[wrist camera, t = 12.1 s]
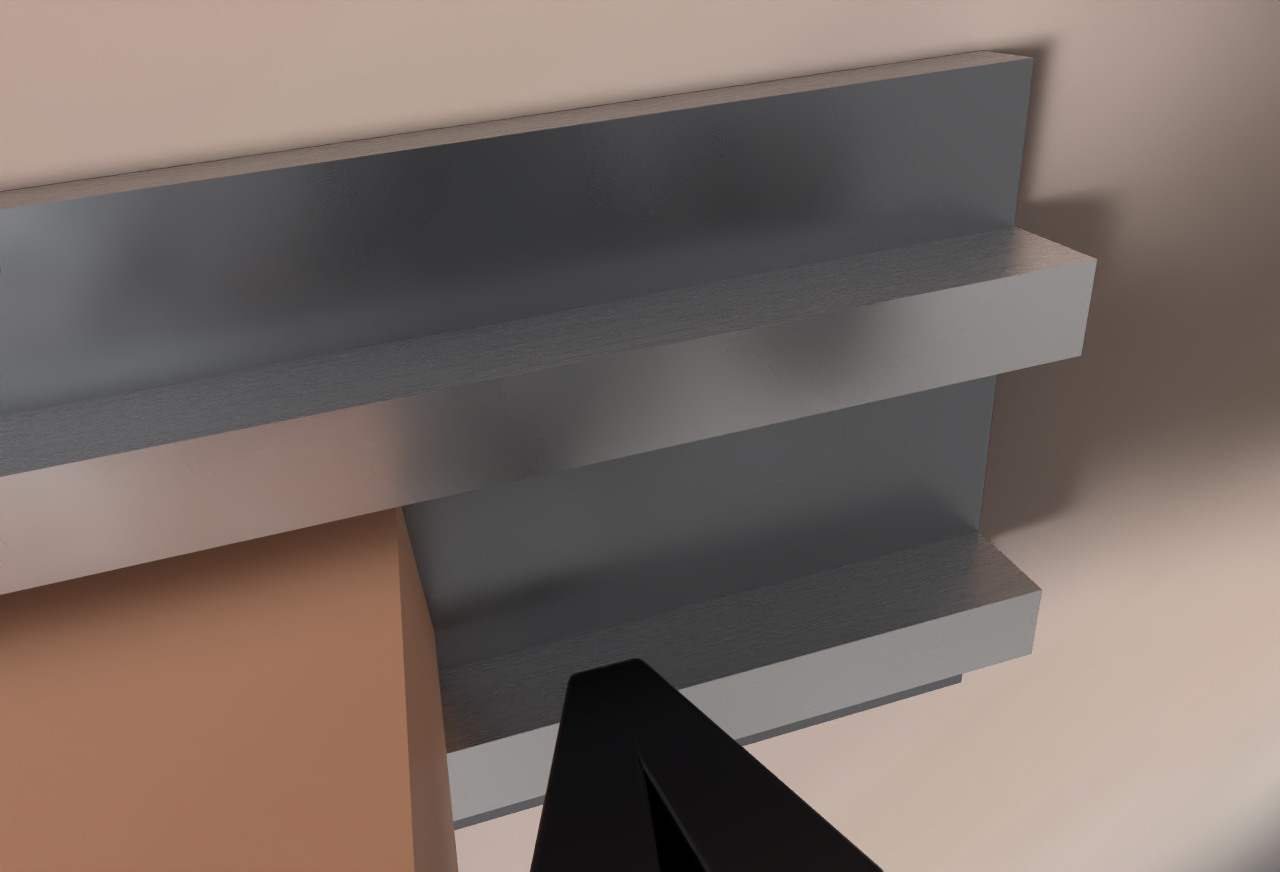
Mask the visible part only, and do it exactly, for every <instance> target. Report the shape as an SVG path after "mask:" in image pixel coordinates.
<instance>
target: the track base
mask: <svg viewBox="0 0 1280 872" xmlns="http://www.w3.org/2000/svg"><path fill="white" fill-rule="evenodd" d="M1033 63H1034V57H1027V56H1019V55H1012V54H1004V53H997V52H989V51H977V52H970V53H964V54H957V55H950V56H943V57H936V58H929V59H922V60H915V61H908V62H901V63H894V64H887V65H880V66H873V67H866V68H859V69H852V70H845V71H838V72H831V73H824V74H817V75H810V76H803V77H797V78H790V79H783V80H776V81H769V82H762V83H755V84H748V85H741V86H734V87H727V88H720V89H713V90H706V91H699V92H692V93H685V94H678V95H671V96H664V97H657V98H650V99H643V100H636V101H630V102H623V103H616V104H609V105H602V106H595V107H588V108H581V109H574V110H567V111H560V112H553V113H546V114H539V115H532V116H525V117H518V118H511V119H504V120H497V121H490V122H483V123H476V124H470V125H463V126H456V127H449V128H442V129H435V130H428V131H421V132H414V133H407V134H400V135H393V136H386V137H379V138H372V139H365V140H358V141H351V142H344V143H337V144H330V145H323V146H316V147H309V148H303V149H296V150H289V151H282V152H275V153H268V154H261V155H254V156H247V157H240V158H233V159H226V160H219V161H212V162H205V163H198V164H191V165H184V166H177V167H170V168H163V169H156V170H149V171H142V172H136V173H129V174H122V175H115V176H108V177H101V178H94V179H87V180H80V181H73V182H66V183H59V184H52V185H45V186H38V187H31V188H24V189H17V190H10V191H3V192H0V595H2V594H6V593H11V592H15V591H20V590H24V589H29V588H34V587H38V586H43V585H47V584H52V583H56V582H61V581H65V580H70V579H74V578H79V577H83V576H88V575H92V574H97V573H101V572H106V571H110V570H115V569H119V568H124V567H128V566H133V565H137V564H142V563H147V562H151V561H156V560H160V559H165V558H169V557H174V556H178V555H183V554H187V553H192V552H196V551H201V550H205V549H210V548H214V547H219V546H223V545H228V544H232V543H237V542H241V541H246V540H250V539H255V538H259V537H264V536H269V535H273V534H278V533H282V532H287V531H291V530H296V529H300V528H305V527H309V526H314V525H318V524H323V523H327V522H332V521H336V520H341V519H345V518H350V517H354V516H359V515H363V514H368V513H372V512H377V511H382V510H386V509H391V508H395V507H400V506H401V508H402V512H403V516H404V519H405V523H406V527H407V531H408V535H409V538H410V542H411V546H412V550H413V554H414V557H415V561H416V565H417V569H418V573H419V576H420V580H421V584H422V588H423V591H424V595H425V599H426V603H427V607H428V610H429V614H430V618H431V622H432V626H433V629H434V634H435V644H436V654H437V664H438V674H439V684H440V694H441V704H442V714H443V724H444V734H445V744H446V754H447V764H448V774H449V784H450V794H451V804H452V814H453V824H454V830H457V829H460V828H464V827H467V826H471V825H474V824H478V823H481V822H484V821H488V820H491V819H495V818H498V817H502V816H505V815H508V814H512V813H515V812H519V811H522V810H525V809H529V808H532V807H536V806H539V805H543V804H544V799H545V794H546V789H547V784H548V779H549V774H550V769H551V764H552V759H553V754H554V749H555V744H556V739H557V734H558V729H559V724H560V719H561V714H562V709H563V704H564V699H565V694H566V689H567V684H568V680H569V678H570V676H571V675H572V674H574V673H577V672H581V671H585V670H589V669H593V668H597V667H601V666H606V665H609V664H612V663H616V662H620V661H624V660H628V659H632V658H639V659H642V660H643V661H645V662H646V663H647V664H648V665H649V666H650V667H652V668H653V669H654V670H655V671H656V672H657V673H658V674H660V675H661V676H662V677H663V678H664V679H665V680H666V681H668V682H669V683H670V684H671V685H672V686H673V687H674V688H676V689H677V690H678V691H679V692H680V693H681V694H682V695H684V696H685V697H686V698H687V699H688V700H689V701H690V702H692V703H693V704H694V705H695V706H696V707H697V708H698V709H700V710H701V711H702V712H703V713H704V714H705V715H706V716H708V717H709V718H710V719H711V720H712V721H713V722H714V723H716V724H717V725H718V726H719V727H720V728H721V729H722V730H724V731H725V732H726V733H727V734H728V735H729V736H730V737H732V738H733V739H734V740H735V741H736V742H737V743H738V744H740V745H741V746H745V745H748V744H751V743H755V742H758V741H762V740H765V739H769V738H772V737H775V736H779V735H782V734H786V733H789V732H792V731H796V730H799V729H803V728H806V727H810V726H813V725H816V724H820V723H823V722H827V721H830V720H834V719H837V718H840V717H844V716H847V715H851V714H854V713H858V712H861V711H864V710H868V709H871V708H875V707H878V706H881V705H885V704H888V703H892V702H895V701H899V700H902V699H905V698H909V697H912V696H916V695H919V694H923V693H926V692H929V691H933V690H936V689H940V688H943V687H947V686H950V685H953V684H957V683H960V682H961V679H962V674H963V673H966V672H970V671H973V670H977V669H980V668H984V667H987V666H991V665H994V664H997V663H1001V662H1004V661H1008V660H1011V659H1015V658H1018V657H1022V656H1025V655H1028V654H1031V653H1032V647H1033V641H1034V635H1035V629H1036V623H1037V617H1038V611H1039V605H1040V599H1041V593H1042V589H1041V588H1040V587H1038V586H1037V585H1036V584H1035V583H1034V582H1033V581H1032V580H1031V579H1030V578H1029V577H1028V576H1027V575H1025V574H1024V573H1023V572H1022V571H1021V570H1020V569H1019V568H1018V567H1017V566H1016V565H1015V564H1014V563H1012V562H1011V561H1010V560H1009V559H1008V558H1007V557H1006V556H1005V555H1004V554H1003V553H1002V552H1001V551H999V550H998V549H997V548H996V547H995V546H994V545H993V544H992V543H991V542H990V541H989V540H988V539H986V538H985V537H984V536H983V535H982V534H981V533H980V532H979V525H980V516H981V508H982V499H983V491H984V482H985V474H986V465H987V456H988V448H989V439H990V431H991V422H992V414H993V405H994V397H995V388H996V380H997V374H1001V373H1005V372H1010V371H1014V370H1019V369H1023V368H1028V367H1032V366H1037V365H1041V364H1046V363H1050V362H1055V361H1059V360H1064V359H1068V358H1073V357H1077V356H1081V354H1082V348H1083V342H1084V336H1085V330H1086V324H1087V318H1088V312H1089V306H1090V300H1091V294H1092V288H1093V282H1094V276H1095V270H1096V264H1097V259H1096V258H1093V257H1091V256H1088V255H1086V254H1083V253H1081V252H1078V251H1076V250H1073V249H1071V248H1068V247H1066V246H1063V245H1061V244H1058V243H1056V242H1053V241H1051V240H1048V239H1046V238H1043V237H1041V236H1038V235H1036V234H1033V233H1031V232H1028V231H1025V230H1023V229H1020V228H1018V227H1015V217H1016V209H1017V200H1018V192H1019V183H1020V174H1021V166H1022V157H1023V149H1024V140H1025V132H1026V123H1027V115H1028V106H1029V98H1030V89H1031V80H1032V72H1033Z"/></svg>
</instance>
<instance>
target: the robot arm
mask: <svg viewBox="0 0 1280 872" xmlns="http://www.w3.org/2000/svg"><path fill="white" fill-rule="evenodd" d="M530 872H883V870H882V869H881V868H880V867H879V866H878V865H877V864H876V863H874V862H873V861H872V860H871V859H870V858H869V857H868V856H866V855H865V854H864V853H863V852H862V851H861V850H860V849H858V848H857V847H856V846H855V845H854V844H853V843H852V842H850V841H849V840H848V839H847V838H846V837H845V836H844V835H842V834H841V833H840V832H839V831H838V830H837V829H836V828H834V827H833V826H832V825H831V824H830V823H829V822H828V821H826V820H825V819H824V818H823V817H822V816H821V815H820V814H818V813H817V812H816V811H815V810H814V809H813V808H812V807H810V806H809V805H808V804H807V803H806V802H805V801H804V800H802V799H801V798H800V797H799V796H798V795H797V794H796V793H794V792H793V791H792V790H791V789H790V788H789V787H788V786H786V785H785V784H784V783H783V782H782V781H781V780H780V779H778V778H777V777H776V776H775V775H774V774H773V773H772V772H770V771H769V770H768V769H767V768H766V767H765V766H764V765H762V764H761V763H760V762H759V761H758V760H757V759H756V758H754V757H753V756H752V755H751V754H750V753H749V752H748V751H746V750H745V749H744V748H743V747H742V746H741V745H740V744H738V743H737V742H736V741H735V740H734V739H733V738H732V737H730V736H729V735H728V734H727V733H726V732H725V731H724V730H722V729H721V728H720V727H719V726H718V725H717V724H716V723H714V722H713V721H712V720H711V719H710V718H709V717H708V716H706V715H705V714H704V713H703V712H702V711H701V710H700V709H698V708H697V707H696V706H695V705H694V704H693V703H692V702H690V701H689V700H688V699H687V698H686V697H685V696H684V695H682V694H681V693H680V692H679V691H678V690H677V689H676V688H674V687H673V686H672V685H671V684H670V683H669V682H668V681H666V680H665V679H664V678H663V677H662V676H661V675H660V674H658V673H657V672H656V671H655V670H654V669H653V668H652V667H650V666H649V665H648V664H647V663H646V662H645V661H643V660H642V659H639V658H632V659H628V660H624V661H620V662H616V663H612V664H609V665H606V666H601V667H597V668H593V669H589V670H585V671H581V672H577V673H574V674H572V675H571V676H570V678H569V680H568V684H567V689H566V694H565V699H564V704H563V709H562V714H561V719H560V724H559V729H558V734H557V739H556V744H555V749H554V754H553V759H552V764H551V769H550V774H549V779H548V784H547V789H546V794H545V799H544V804H543V809H542V814H541V819H540V824H539V829H538V834H537V839H536V844H535V849H534V854H533V859H532V864H531V869H530Z"/></svg>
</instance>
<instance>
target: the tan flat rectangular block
mask: <svg viewBox="0 0 1280 872" xmlns="http://www.w3.org/2000/svg"><path fill="white" fill-rule="evenodd" d="M0 872H458V864H457V854H456V844H455V834H454V824H453V814H452V804H451V794H450V784H449V774H448V764H447V754H446V744H445V734H444V724H443V714H442V704H441V694H440V684H439V674H438V664H437V654H436V644H435V634H434V629H433V626H432V622H431V618H430V614H429V610H428V607H427V603H426V599H425V595H424V591H423V588H422V584H421V580H420V576H419V573H418V569H417V565H416V561H415V557H414V554H413V550H412V546H411V542H410V538H409V535H408V531H407V527H406V523H405V519H404V516H403V512H402V508H401V506H400V507H395V508H391V509H386V510H382V511H377V512H372V513H368V514H363V515H359V516H354V517H350V518H345V519H341V520H336V521H332V522H327V523H323V524H318V525H314V526H309V527H305V528H300V529H296V530H291V531H287V532H282V533H278V534H273V535H269V536H264V537H259V538H255V539H250V540H246V541H241V542H237V543H232V544H228V545H223V546H219V547H214V548H210V549H205V550H201V551H196V552H192V553H187V554H183V555H178V556H174V557H169V558H165V559H160V560H156V561H151V562H147V563H142V564H137V565H133V566H128V567H124V568H119V569H115V570H110V571H106V572H101V573H97V574H92V575H88V576H83V577H79V578H74V579H70V580H65V581H61V582H56V583H52V584H47V585H43V586H38V587H34V588H29V589H24V590H20V591H15V592H11V593H6V594H2V595H0Z"/></svg>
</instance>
